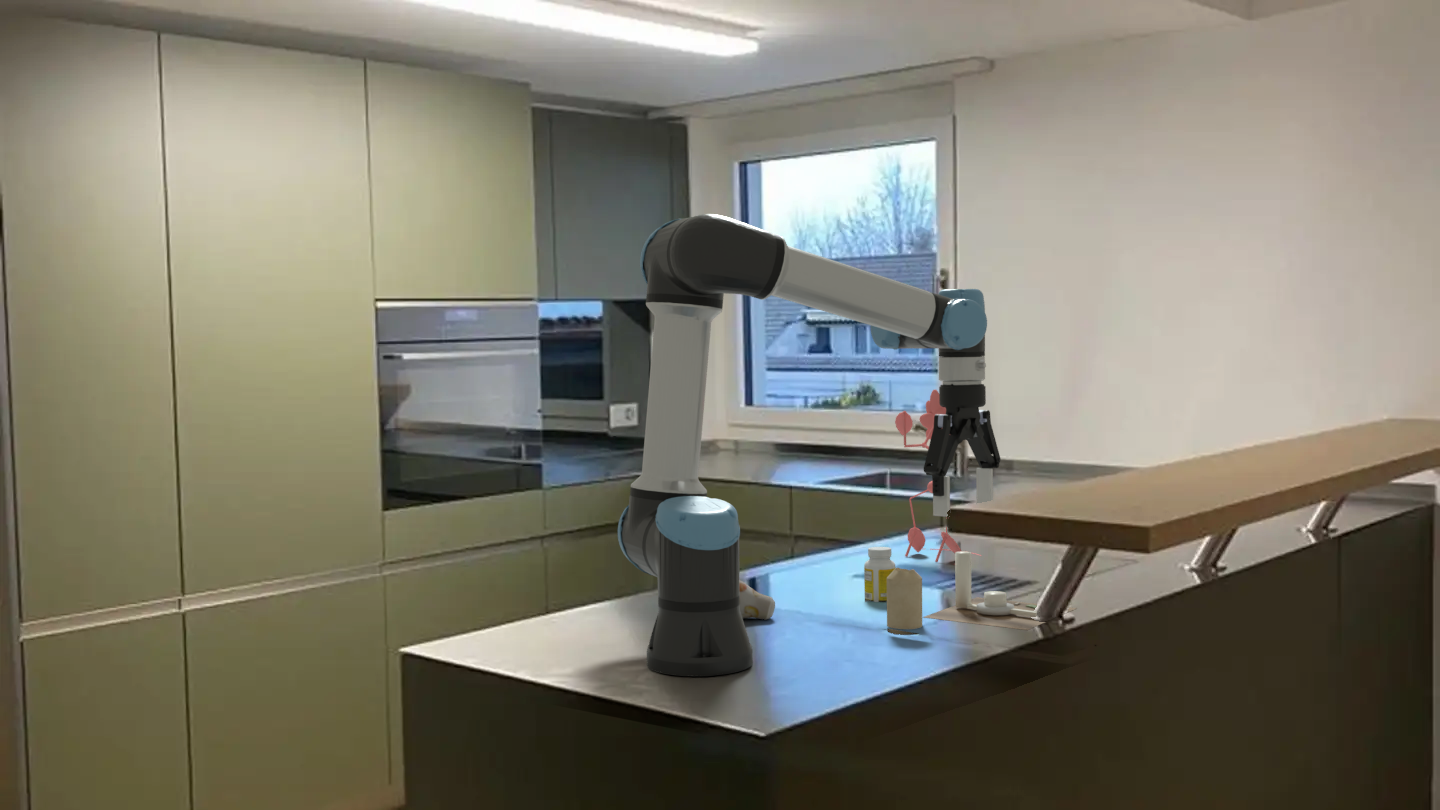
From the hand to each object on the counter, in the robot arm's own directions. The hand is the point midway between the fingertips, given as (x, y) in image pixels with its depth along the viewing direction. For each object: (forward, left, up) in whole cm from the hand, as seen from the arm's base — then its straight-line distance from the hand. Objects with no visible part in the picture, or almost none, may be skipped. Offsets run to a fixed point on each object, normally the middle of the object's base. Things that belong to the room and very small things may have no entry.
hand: (963, 511), depth 230 cm
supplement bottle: (0, +16, -18) cm, 24 cm away
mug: (-22, +29, -18) cm, 40 cm away
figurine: (+52, +30, -17) cm, 63 cm away
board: (0, -6, -17) cm, 18 cm away
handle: (-1, -6, -16) cm, 17 cm away
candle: (-17, +2, -18) cm, 24 cm away
